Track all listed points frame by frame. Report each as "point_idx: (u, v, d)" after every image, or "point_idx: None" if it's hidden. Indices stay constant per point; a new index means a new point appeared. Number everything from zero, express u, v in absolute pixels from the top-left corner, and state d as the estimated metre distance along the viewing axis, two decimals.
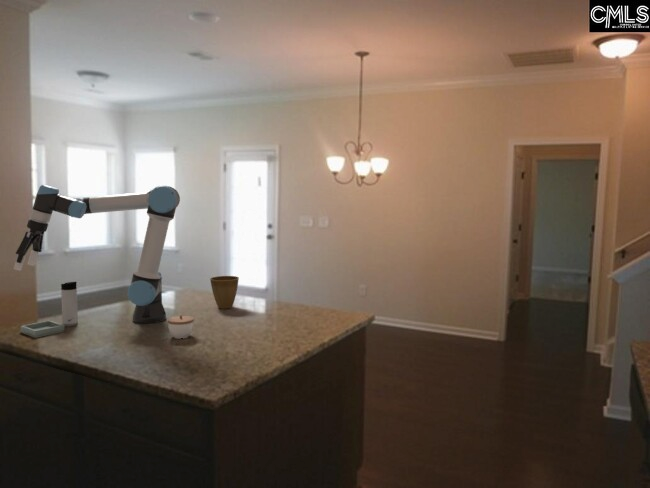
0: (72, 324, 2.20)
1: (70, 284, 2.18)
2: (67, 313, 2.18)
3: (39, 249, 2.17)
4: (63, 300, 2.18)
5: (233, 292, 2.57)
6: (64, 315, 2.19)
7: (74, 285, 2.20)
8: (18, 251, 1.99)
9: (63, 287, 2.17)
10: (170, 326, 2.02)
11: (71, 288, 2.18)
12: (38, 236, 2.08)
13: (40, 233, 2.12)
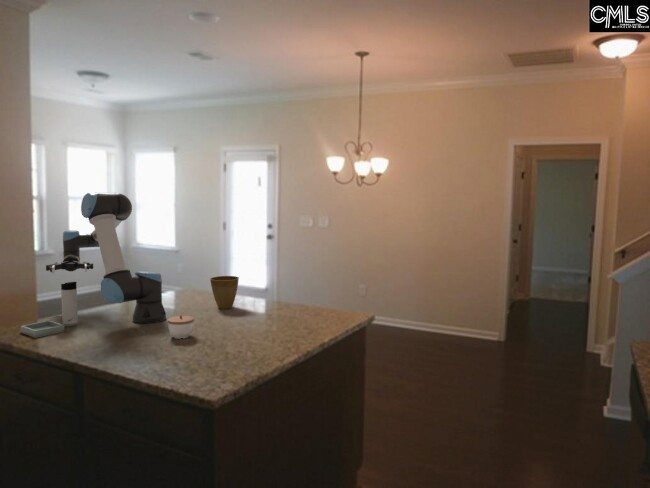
0: (72, 324, 2.20)
1: (70, 284, 2.18)
2: (67, 313, 2.18)
3: None
4: (63, 300, 2.18)
5: (233, 292, 2.57)
6: (64, 315, 2.19)
7: (74, 285, 2.20)
8: None
9: (63, 287, 2.17)
10: (170, 326, 2.02)
11: (71, 288, 2.18)
12: (68, 261, 2.41)
13: None
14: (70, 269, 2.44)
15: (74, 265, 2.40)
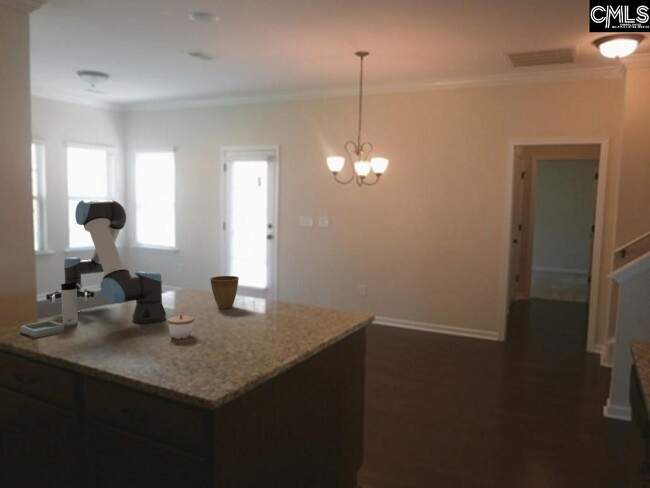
0: (72, 324, 2.20)
1: (70, 284, 2.18)
2: (67, 313, 2.18)
3: None
4: (63, 300, 2.18)
5: (233, 292, 2.57)
6: (64, 315, 2.19)
7: (74, 285, 2.20)
8: None
9: (63, 287, 2.17)
10: (170, 326, 2.02)
11: (71, 288, 2.18)
12: None
13: (78, 290, 2.41)
14: None
15: None
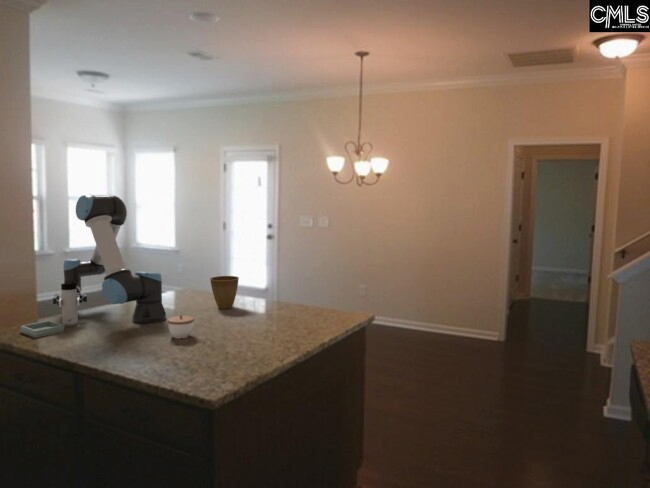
0: (72, 324, 2.20)
1: (70, 284, 2.18)
2: (67, 313, 2.18)
3: None
4: (63, 300, 2.18)
5: (233, 292, 2.57)
6: (64, 315, 2.19)
7: (74, 285, 2.20)
8: None
9: (63, 287, 2.17)
10: (170, 326, 2.02)
11: (71, 288, 2.18)
12: None
13: (78, 293, 2.33)
14: None
15: None
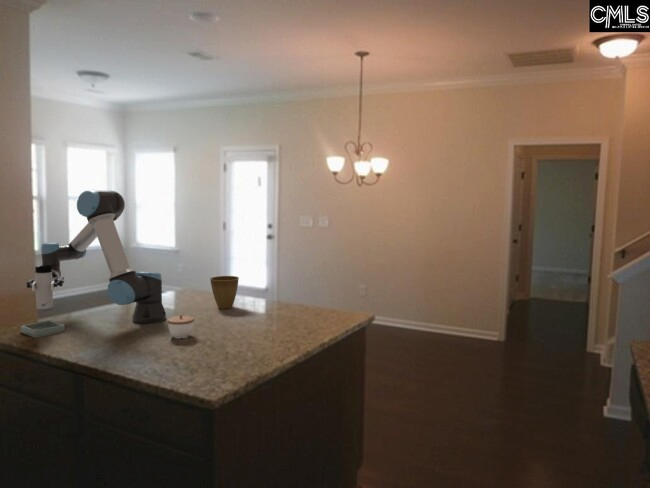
0: (46, 309, 2.09)
1: (44, 267, 2.07)
2: (41, 297, 2.08)
3: None
4: (37, 284, 2.08)
5: (233, 292, 2.57)
6: (38, 299, 2.08)
7: (49, 268, 2.09)
8: None
9: (37, 270, 2.07)
10: (170, 326, 2.02)
11: (45, 271, 2.08)
12: None
13: (54, 277, 2.23)
14: None
15: None
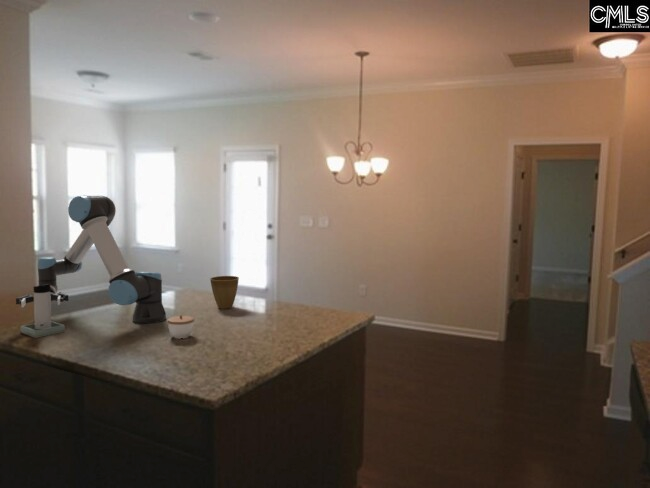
0: None
1: (43, 287, 2.07)
2: (39, 317, 2.07)
3: None
4: (35, 304, 2.07)
5: (233, 292, 2.57)
6: (37, 319, 2.07)
7: (47, 288, 2.08)
8: None
9: (35, 290, 2.06)
10: (170, 326, 2.02)
11: (44, 291, 2.07)
12: None
13: (51, 293, 2.21)
14: None
15: None
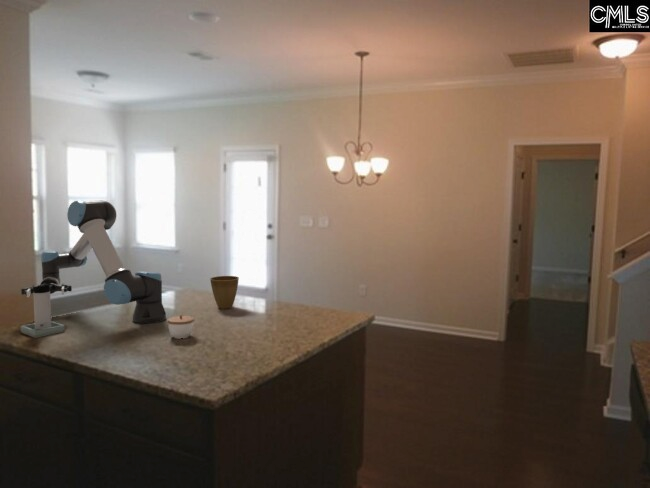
0: None
1: (42, 287, 2.06)
2: (39, 317, 2.07)
3: None
4: (35, 304, 2.07)
5: (233, 292, 2.57)
6: (36, 319, 2.07)
7: (47, 288, 2.08)
8: None
9: (35, 290, 2.06)
10: (170, 326, 2.02)
11: (44, 291, 2.07)
12: (45, 283, 2.31)
13: None
14: None
15: (52, 288, 2.30)
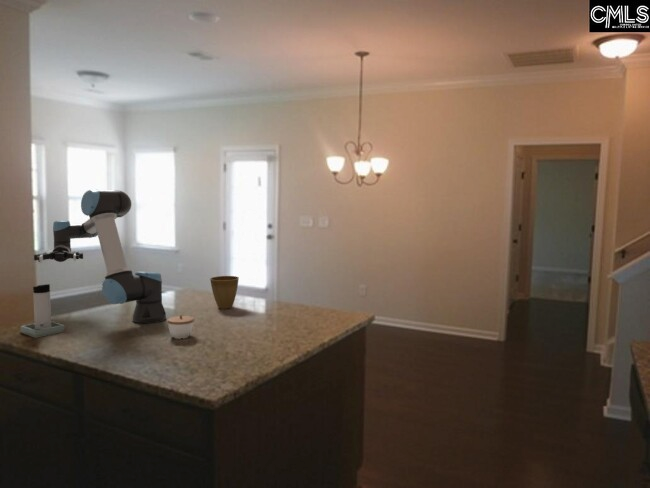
0: None
1: (42, 287, 2.06)
2: (39, 317, 2.07)
3: None
4: (35, 304, 2.07)
5: (233, 292, 2.57)
6: (36, 319, 2.07)
7: (47, 288, 2.08)
8: None
9: (35, 290, 2.06)
10: (170, 326, 2.02)
11: (44, 291, 2.07)
12: (57, 251, 2.34)
13: (66, 252, 2.37)
14: (60, 259, 2.37)
15: (63, 255, 2.33)
